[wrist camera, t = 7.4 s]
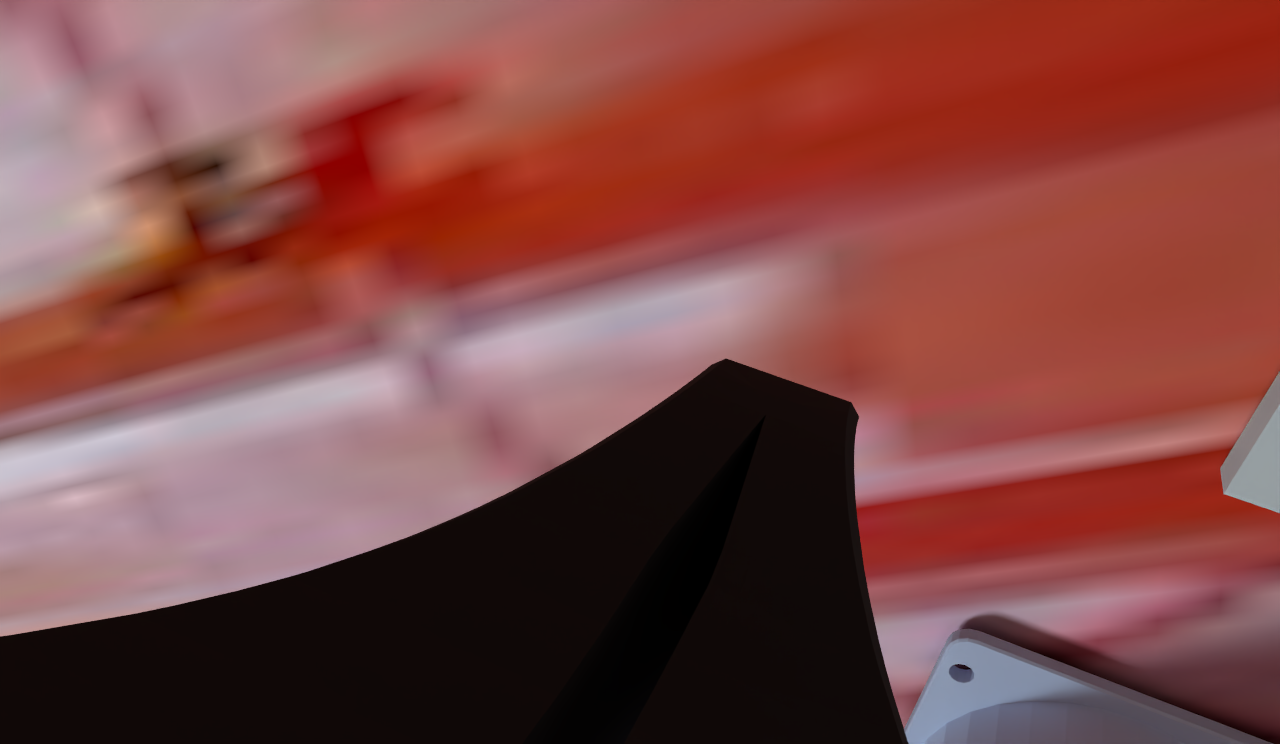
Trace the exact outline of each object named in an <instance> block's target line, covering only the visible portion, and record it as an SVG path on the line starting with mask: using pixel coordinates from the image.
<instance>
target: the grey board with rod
mask: <svg viewBox="0 0 1280 744" xmlns="http://www.w3.org/2000/svg"><path fill="white" fill-rule="evenodd" d="M1220 469H1221V477H1222V485H1223V493H1224V494H1226V495H1229V496H1232V497H1235V498H1238V499H1240V500H1243V501H1246V502H1249V503H1252V504H1255V505H1258V506H1261V507H1264V508H1267V509H1270V510H1272V511H1275V512H1278V513H1280V372H1279V373H1278V375H1277V376H1276V378H1275V380H1274V381H1273V383H1272V385H1271V386H1270V388H1269V390H1268V391H1267V393H1266V394H1265V396H1264V398H1263V399H1262V401H1261V403H1260V404H1259V406H1258V408H1257V409H1256V411H1255V412H1254V414H1253V416H1252V417H1251V419H1250V421H1249V422H1248V424H1247V425H1246V427H1245V429H1244V430H1243V432H1242V434H1241V435H1240V437H1239V439H1238V440H1237V442H1236V443H1235V445H1234V447H1233V448H1232V450H1231V452H1230V453H1229V455H1228V457H1227V458H1226V460H1225V461H1224V463H1223V465H1222V466H1221V468H1220Z"/></svg>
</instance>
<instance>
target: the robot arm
mask: <svg viewBox="0 0 1280 744" xmlns="http://www.w3.org/2000/svg"><path fill="white" fill-rule="evenodd" d="M858 419H859V416H858V414H857V412H856V410H855V408H854V407H853V405H852V403H851V402H849V401H846V400H843V399H840V398H837V397H834V396H832V395H829V394H826V393H823V392H820V391H817V390H814V389H812V388H809V387H806V386H803V385H800V384H797V383H794V382H792V381H789V380H786V379H783V378H780V377H777V376H774V375H772V374H769V373H766V372H763V371H760V370H757V369H754V368H752V367H749V366H746V365H743V364H740V363H737V362H734V361H732V360H729V359H724V360H722V361H719V362H717V363H715V364H712V365H711V366H710V367H708V368H707V369H706V370H705V371H703V372H702V373H701V374H699V375H698V376H697V377H695V378H694V379H693V380H691V381H690V382H689V383H687V384H686V385H685V386H683V387H682V388H681V389H679V390H678V391H677V392H675V393H674V394H672V395H671V396H670V397H668V398H667V399H665V400H664V401H662V402H661V403H659V404H658V405H657V406H655V407H654V408H652V409H651V410H649V411H648V412H646V413H645V414H643V415H642V416H640V417H639V418H637V419H636V420H634V421H633V422H631V423H629V424H628V425H626V426H625V427H623V428H621V429H620V430H618V431H617V432H615V433H613V434H612V435H610V436H609V437H607V438H606V439H604V440H602V441H601V442H599V443H598V444H596V445H594V446H593V447H591V448H590V449H588V450H586V451H584V452H583V453H581V454H579V455H578V456H576V457H574V458H572V459H570V460H569V461H567V462H565V463H563V464H561V465H559V466H558V467H556V468H554V469H552V470H550V471H548V472H546V473H545V474H543V475H541V476H539V477H537V478H535V479H534V480H532V481H530V482H528V483H526V484H524V485H522V486H521V487H519V488H517V489H515V490H513V491H511V492H509V493H507V494H505V495H503V496H501V497H499V498H497V499H495V500H493V501H490V502H488V503H486V504H484V505H482V506H480V507H478V508H476V509H473V510H471V511H469V512H467V513H465V514H462V515H460V516H458V517H455V518H453V519H451V520H448V521H446V522H444V523H441V524H439V525H437V526H434V527H432V528H429V529H427V530H425V531H422V532H420V533H417V534H415V535H412V536H410V537H407V538H404V539H401V540H399V541H396V542H393V543H390V544H388V545H385V546H382V547H379V548H377V549H374V550H371V551H368V552H365V553H362V554H359V555H356V556H353V557H350V558H347V559H344V560H341V561H338V562H335V563H332V564H329V565H326V566H323V567H320V568H317V569H314V570H311V571H308V572H305V573H301V574H298V575H295V576H291V577H288V578H284V579H280V580H276V581H273V582H269V583H265V584H261V585H258V586H254V587H250V588H246V589H243V590H239V591H235V592H231V593H226V594H222V595H218V596H214V597H209V598H205V599H201V600H197V601H192V602H188V603H184V604H180V605H175V606H170V607H166V608H161V609H156V610H151V611H146V612H142V613H137V614H131V615H126V616H120V617H114V618H108V619H102V620H97V621H91V622H85V623H79V624H73V625H68V626H62V627H56V628H50V629H44V630H39V631H33V632H27V633H21V634H15V635H9V636H2V637H0V744H1273V743H1270V742H1267V741H1265V740H1262V739H1260V738H1257V737H1254V736H1252V735H1249V734H1247V733H1244V732H1241V731H1239V730H1236V729H1234V728H1231V727H1228V726H1226V725H1223V724H1221V723H1218V722H1215V721H1213V720H1210V719H1208V718H1205V717H1202V716H1200V715H1197V714H1194V713H1192V712H1189V711H1187V710H1184V709H1181V708H1179V707H1176V706H1174V705H1171V704H1168V703H1166V702H1163V701H1161V700H1158V699H1155V698H1153V697H1150V696H1148V695H1145V694H1142V693H1140V692H1137V691H1135V690H1132V689H1129V688H1127V687H1124V686H1121V685H1119V684H1116V683H1114V682H1111V681H1108V680H1106V679H1103V678H1101V677H1098V676H1095V675H1093V674H1090V673H1088V672H1085V671H1082V670H1080V669H1077V668H1075V667H1072V666H1069V665H1067V664H1064V663H1062V662H1059V661H1056V660H1054V659H1051V658H1048V657H1046V656H1043V655H1041V654H1038V653H1035V652H1033V651H1030V650H1028V649H1025V648H1022V647H1020V646H1017V645H1015V644H1012V643H1009V642H1007V641H1004V640H1002V639H999V638H996V637H994V636H991V635H989V634H986V633H983V632H981V631H977V630H973V629H960V630H957V631H955V632H953V633H952V634H951V635H950V636H949V638H948V639H947V641H946V643H945V646H944V648H943V650H942V652H941V654H940V656H939V658H938V660H937V662H936V664H935V666H934V668H933V670H932V672H931V674H930V677H929V679H928V681H927V683H926V685H925V687H924V689H923V691H922V693H921V695H920V697H919V699H918V701H917V703H916V705H915V708H914V710H913V712H912V714H911V716H910V718H909V720H908V722H907V724H906V726H905V728H903V725H902V721H901V718H900V715H899V712H898V709H897V706H896V702H895V699H894V696H893V693H892V689H891V686H890V682H889V678H888V675H887V671H886V668H885V664H884V660H883V656H882V652H881V648H880V644H879V640H878V635H877V631H876V626H875V622H874V617H873V612H872V608H871V603H870V599H869V593H868V588H867V582H866V577H865V571H864V565H863V558H862V550H861V543H860V535H859V528H858V521H857V511H856V500H855V480H854V445H855V434H856V427H857V422H858ZM956 664H962V665H966V666H968V667H969V668H971V669H968V670H964V669H959V668H958V667H956V666H955V665H956Z"/></svg>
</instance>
